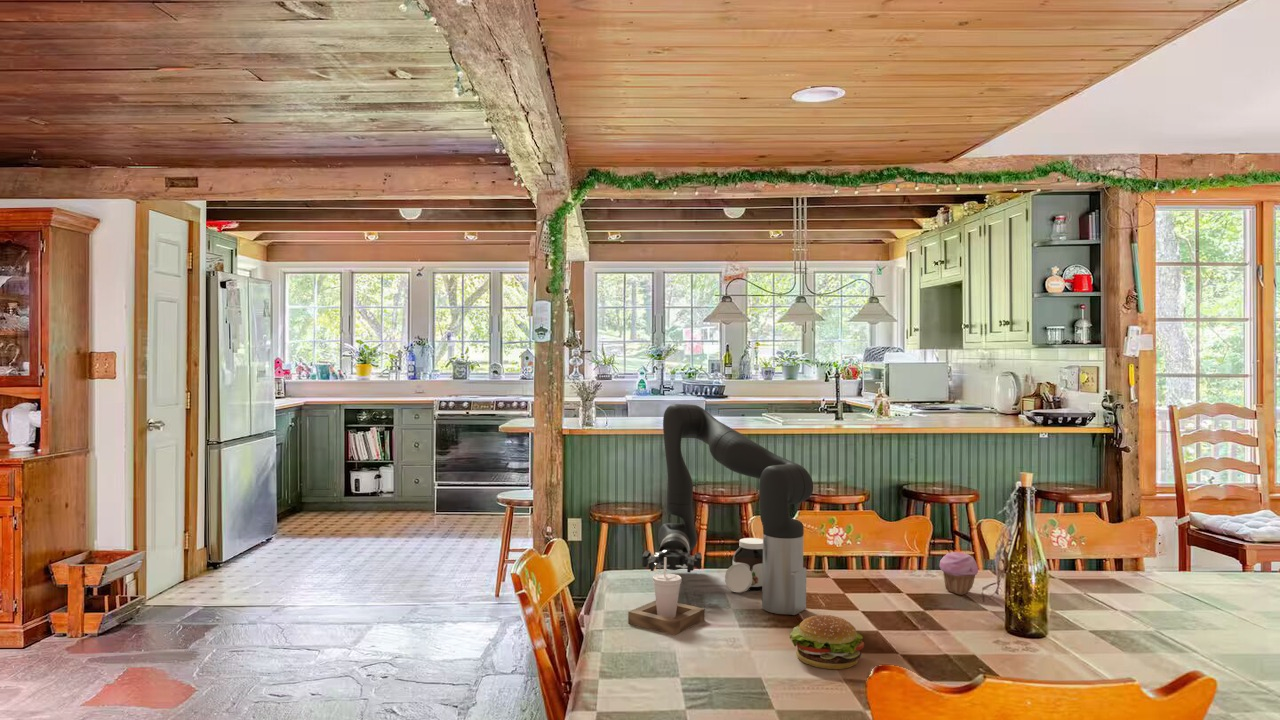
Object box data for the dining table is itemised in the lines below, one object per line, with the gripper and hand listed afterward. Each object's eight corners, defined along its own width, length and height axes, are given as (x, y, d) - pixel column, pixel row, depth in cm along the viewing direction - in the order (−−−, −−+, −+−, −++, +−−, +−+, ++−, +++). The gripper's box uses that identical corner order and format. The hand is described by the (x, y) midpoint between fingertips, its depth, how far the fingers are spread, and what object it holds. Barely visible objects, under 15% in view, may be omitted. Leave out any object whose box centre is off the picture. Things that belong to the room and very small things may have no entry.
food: (808, 640, 165) (809, 602, 165) (874, 657, 156) (874, 616, 156) (774, 659, 154) (775, 618, 154) (842, 678, 145) (843, 634, 145)
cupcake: (932, 589, 203) (932, 549, 203) (957, 585, 207) (958, 546, 207) (959, 599, 195) (960, 558, 195) (985, 595, 199) (986, 554, 199)
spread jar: (771, 583, 207) (772, 538, 207) (774, 596, 195) (775, 548, 195) (724, 581, 208) (725, 536, 208) (724, 594, 197) (725, 546, 197)
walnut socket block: (704, 620, 177) (704, 608, 177) (674, 634, 167) (674, 622, 167) (659, 609, 184) (659, 598, 184) (628, 623, 174) (628, 611, 174)
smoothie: (646, 618, 177) (648, 555, 177) (672, 615, 180) (673, 552, 180) (659, 627, 171) (661, 562, 171) (686, 624, 174) (687, 559, 174)
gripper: (646, 535, 203) (640, 550, 187) (702, 537, 202) (701, 552, 186) (646, 564, 203) (639, 582, 187) (702, 566, 202) (701, 584, 186)
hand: (670, 567), depth 186 cm, fingers open, 8 cm apart
